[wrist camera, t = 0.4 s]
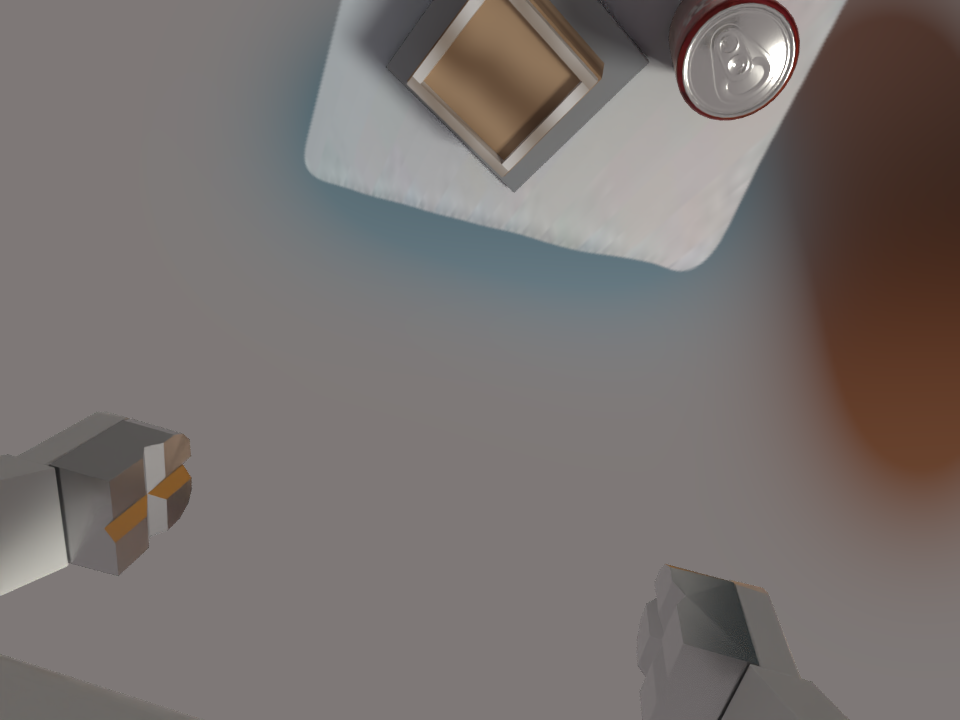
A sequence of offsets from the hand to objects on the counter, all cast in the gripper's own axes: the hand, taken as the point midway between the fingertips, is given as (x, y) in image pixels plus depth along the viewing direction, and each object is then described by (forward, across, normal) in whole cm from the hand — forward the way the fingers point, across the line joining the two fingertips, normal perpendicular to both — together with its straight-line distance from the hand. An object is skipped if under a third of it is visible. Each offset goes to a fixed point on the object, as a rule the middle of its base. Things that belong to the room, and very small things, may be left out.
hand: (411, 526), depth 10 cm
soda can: (+47, -9, -16) cm, 50 cm away
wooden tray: (+47, +7, -10) cm, 49 cm away
